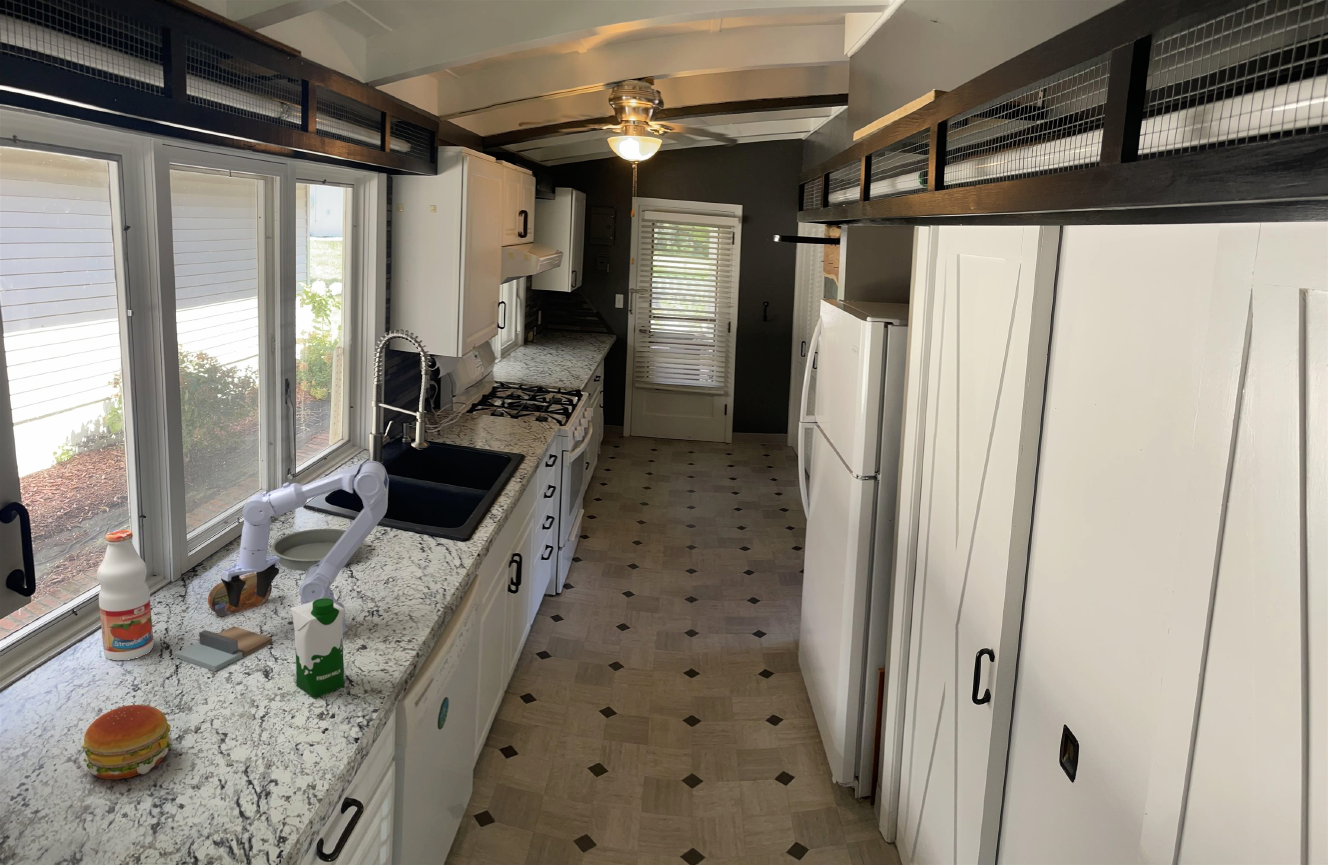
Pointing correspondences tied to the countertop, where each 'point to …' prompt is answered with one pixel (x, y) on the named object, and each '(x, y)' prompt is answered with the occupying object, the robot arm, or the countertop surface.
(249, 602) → the tin
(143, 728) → the burger
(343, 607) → the robot arm
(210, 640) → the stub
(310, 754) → the countertop surface
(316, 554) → the cake pan
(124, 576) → the fruit juice
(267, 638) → the board
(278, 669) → the countertop surface
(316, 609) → the milk carton
